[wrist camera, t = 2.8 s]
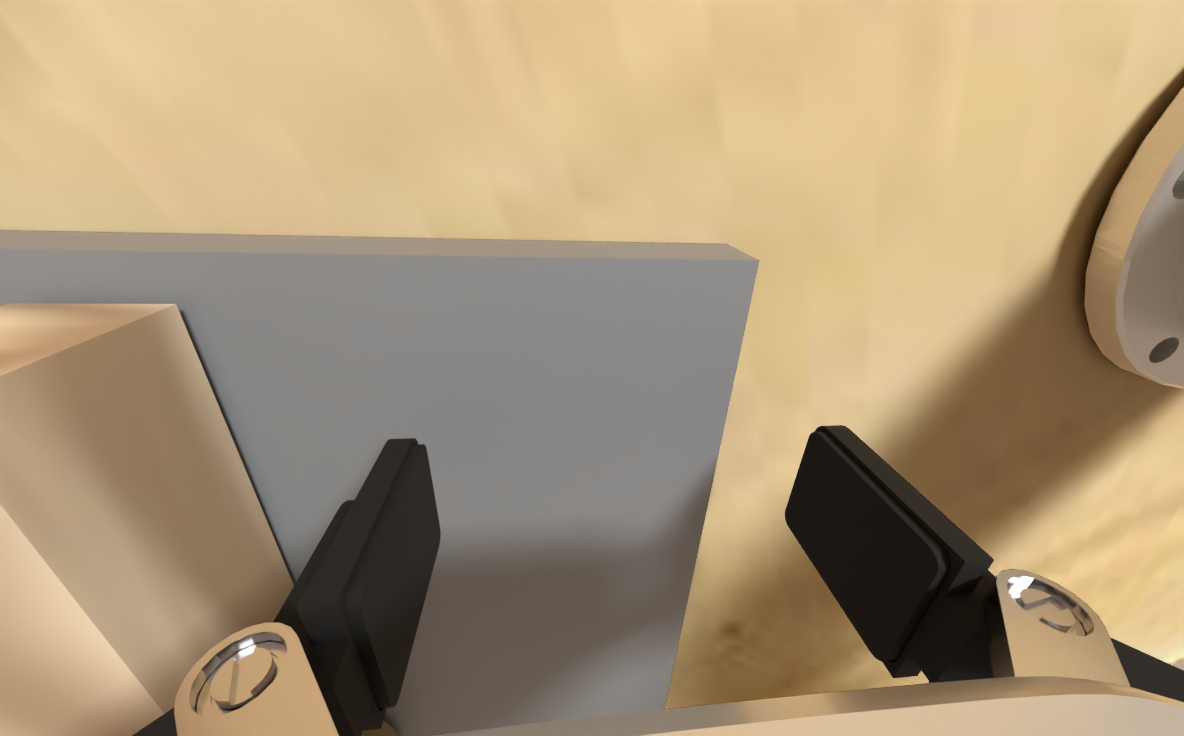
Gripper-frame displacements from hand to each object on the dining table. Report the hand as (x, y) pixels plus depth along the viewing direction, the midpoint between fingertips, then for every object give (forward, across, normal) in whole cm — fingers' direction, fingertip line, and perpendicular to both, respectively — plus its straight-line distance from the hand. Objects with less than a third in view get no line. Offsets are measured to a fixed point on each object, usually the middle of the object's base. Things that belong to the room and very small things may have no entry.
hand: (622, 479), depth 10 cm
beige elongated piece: (+1, +11, +7) cm, 13 cm away
